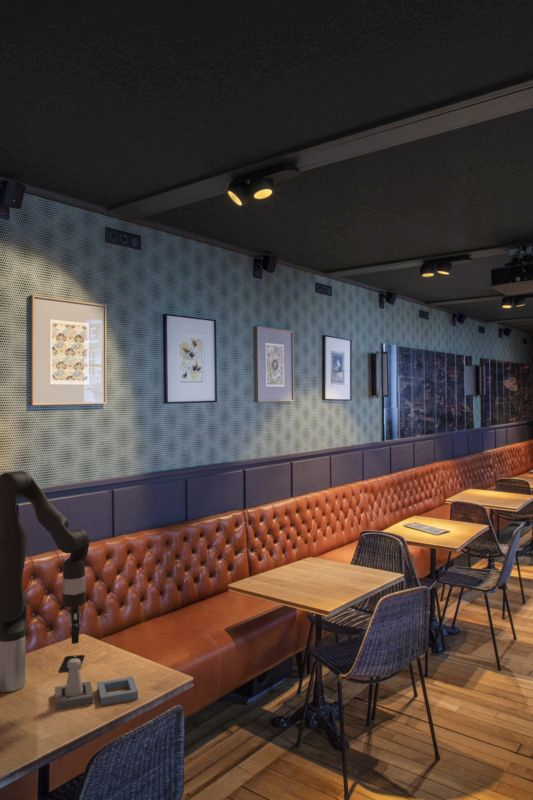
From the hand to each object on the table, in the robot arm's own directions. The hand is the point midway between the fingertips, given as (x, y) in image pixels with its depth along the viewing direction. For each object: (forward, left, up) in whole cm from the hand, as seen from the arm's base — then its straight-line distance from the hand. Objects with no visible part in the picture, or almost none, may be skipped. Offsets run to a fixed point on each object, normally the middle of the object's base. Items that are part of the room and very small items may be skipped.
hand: (74, 638), depth 195 cm
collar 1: (0, 0, -20) cm, 20 cm away
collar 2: (+14, -2, -20) cm, 24 cm away
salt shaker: (0, 0, -20) cm, 20 cm away
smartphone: (+1, +30, -21) cm, 36 cm away
